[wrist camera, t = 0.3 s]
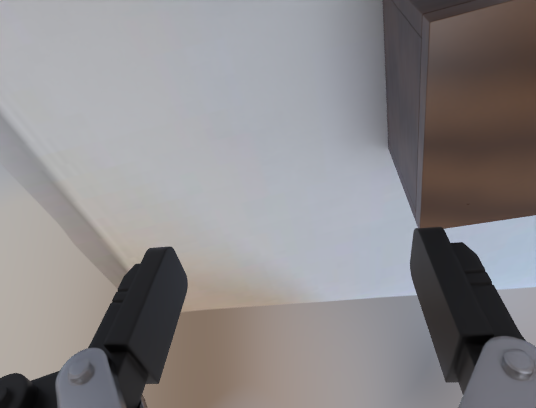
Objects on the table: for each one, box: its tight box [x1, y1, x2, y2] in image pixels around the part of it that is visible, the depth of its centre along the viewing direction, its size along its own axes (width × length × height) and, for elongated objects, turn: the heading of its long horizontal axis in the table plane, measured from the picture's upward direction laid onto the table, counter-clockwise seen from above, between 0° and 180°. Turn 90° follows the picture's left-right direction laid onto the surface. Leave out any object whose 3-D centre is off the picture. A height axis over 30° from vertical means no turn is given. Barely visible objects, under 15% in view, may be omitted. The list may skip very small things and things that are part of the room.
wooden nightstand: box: [383, 0, 536, 229], centre depth 25 cm, size 16×10×11 cm, turn 15°
